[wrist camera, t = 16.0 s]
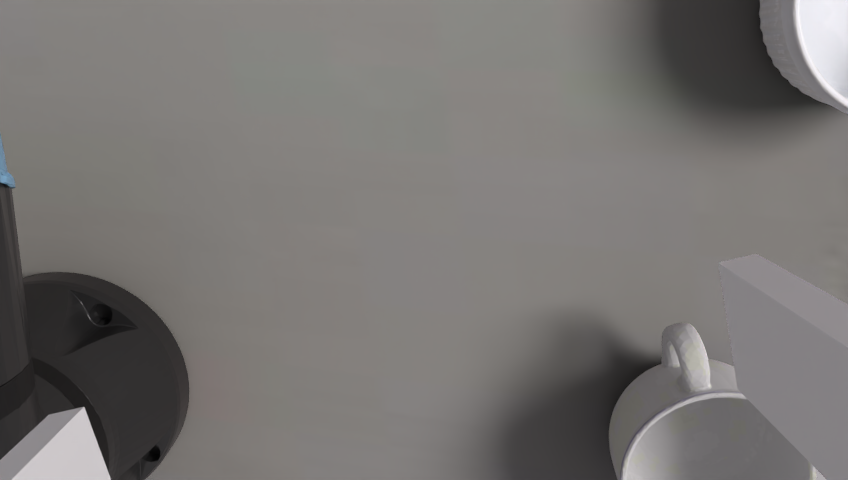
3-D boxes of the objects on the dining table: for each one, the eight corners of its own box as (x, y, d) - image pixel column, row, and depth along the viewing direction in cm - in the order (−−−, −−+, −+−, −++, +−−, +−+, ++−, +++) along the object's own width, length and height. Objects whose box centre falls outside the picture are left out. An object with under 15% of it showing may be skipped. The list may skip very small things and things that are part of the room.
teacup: (753, 484, 51) (813, 560, 43) (593, 495, 51) (624, 572, 43) (759, 287, 48) (825, 330, 40) (589, 299, 48) (622, 344, 40)
